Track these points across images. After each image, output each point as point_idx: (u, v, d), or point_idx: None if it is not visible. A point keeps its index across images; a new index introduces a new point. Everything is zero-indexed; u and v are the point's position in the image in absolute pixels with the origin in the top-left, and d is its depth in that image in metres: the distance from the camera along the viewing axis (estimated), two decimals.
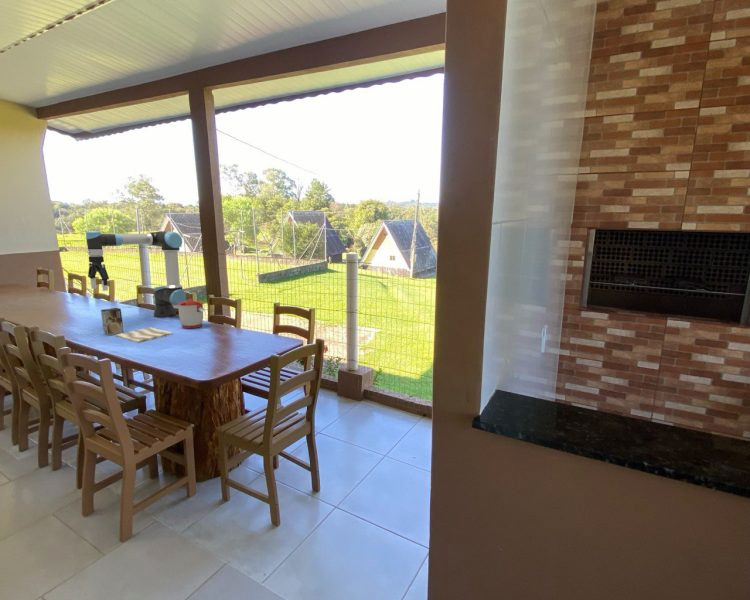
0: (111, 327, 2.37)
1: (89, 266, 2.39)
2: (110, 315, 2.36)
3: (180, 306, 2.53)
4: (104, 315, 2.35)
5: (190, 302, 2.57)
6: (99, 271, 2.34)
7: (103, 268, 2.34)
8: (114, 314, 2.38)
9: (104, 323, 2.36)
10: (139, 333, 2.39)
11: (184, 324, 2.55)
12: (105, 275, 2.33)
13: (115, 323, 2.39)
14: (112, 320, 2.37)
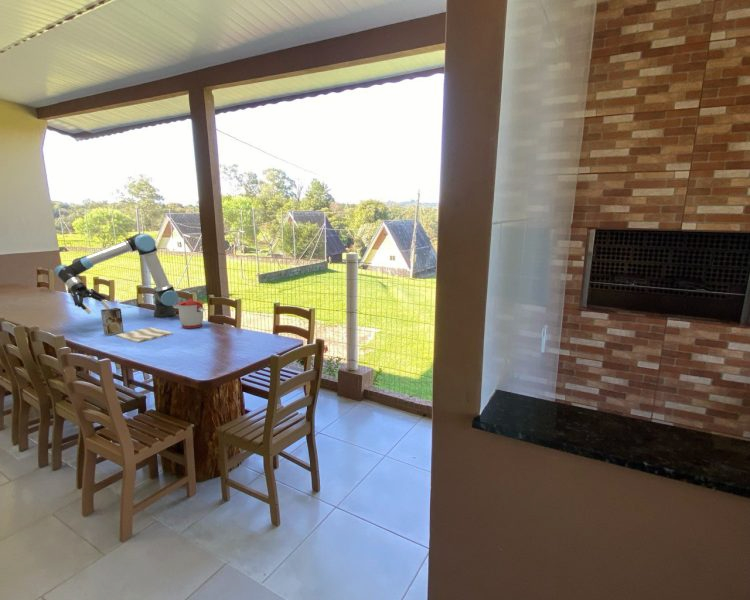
0: (111, 327, 2.37)
1: None
2: (110, 315, 2.36)
3: (180, 306, 2.53)
4: (104, 315, 2.35)
5: (190, 302, 2.57)
6: (79, 298, 2.35)
7: (74, 296, 2.32)
8: (114, 314, 2.38)
9: (104, 323, 2.36)
10: (139, 333, 2.39)
11: (184, 324, 2.55)
12: (75, 302, 2.30)
13: (115, 323, 2.39)
14: (112, 320, 2.37)
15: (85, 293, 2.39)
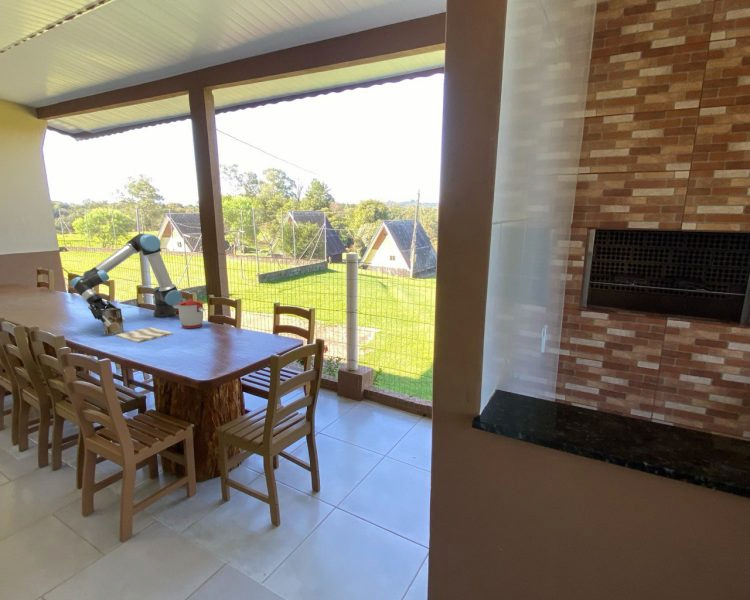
0: (111, 327, 2.37)
1: None
2: (110, 315, 2.36)
3: (180, 306, 2.53)
4: (104, 315, 2.35)
5: (190, 302, 2.57)
6: (96, 311, 2.36)
7: (91, 308, 2.33)
8: (114, 314, 2.38)
9: (104, 323, 2.36)
10: (139, 333, 2.39)
11: (184, 324, 2.55)
12: (94, 315, 2.32)
13: (115, 323, 2.39)
14: (112, 320, 2.37)
15: (101, 305, 2.39)
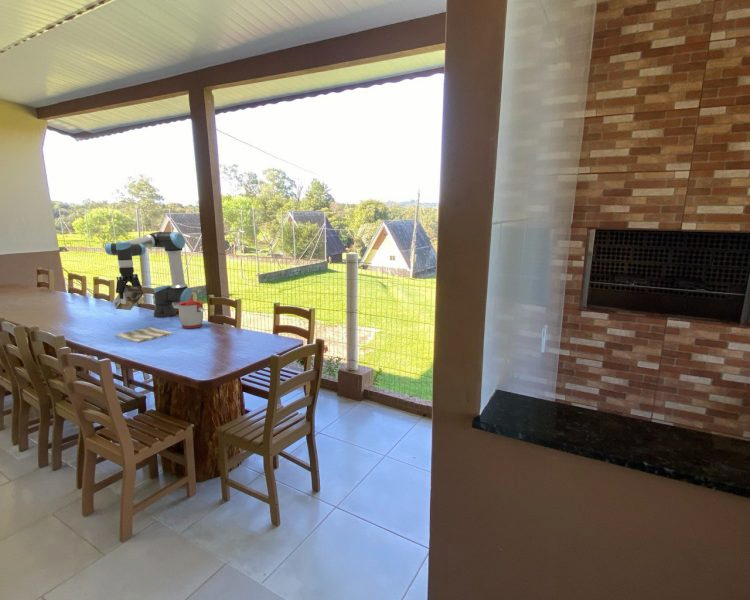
0: (123, 304, 2.34)
1: None
2: (130, 295, 2.32)
3: (180, 306, 2.53)
4: (125, 292, 2.30)
5: (190, 302, 2.57)
6: None
7: (118, 281, 2.27)
8: (134, 296, 2.34)
9: None
10: (139, 333, 2.39)
11: (184, 324, 2.55)
12: (117, 288, 2.26)
13: (129, 302, 2.35)
14: (128, 299, 2.33)
15: (129, 279, 2.33)
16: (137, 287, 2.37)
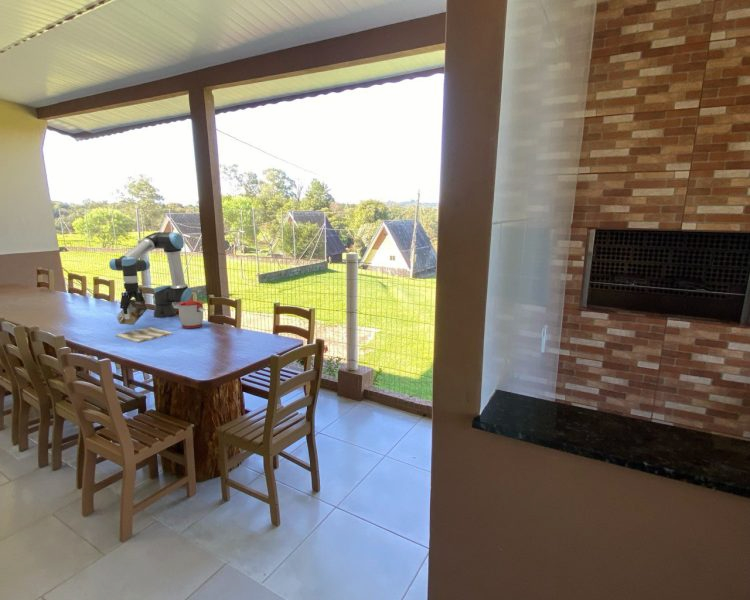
0: (127, 319, 2.36)
1: (138, 292, 2.42)
2: (134, 311, 2.34)
3: (180, 306, 2.53)
4: (129, 308, 2.32)
5: (190, 302, 2.57)
6: None
7: (123, 296, 2.29)
8: (138, 311, 2.36)
9: None
10: (139, 333, 2.39)
11: (184, 324, 2.55)
12: (121, 304, 2.28)
13: (133, 317, 2.37)
14: (132, 314, 2.35)
15: (133, 294, 2.35)
16: (141, 302, 2.38)
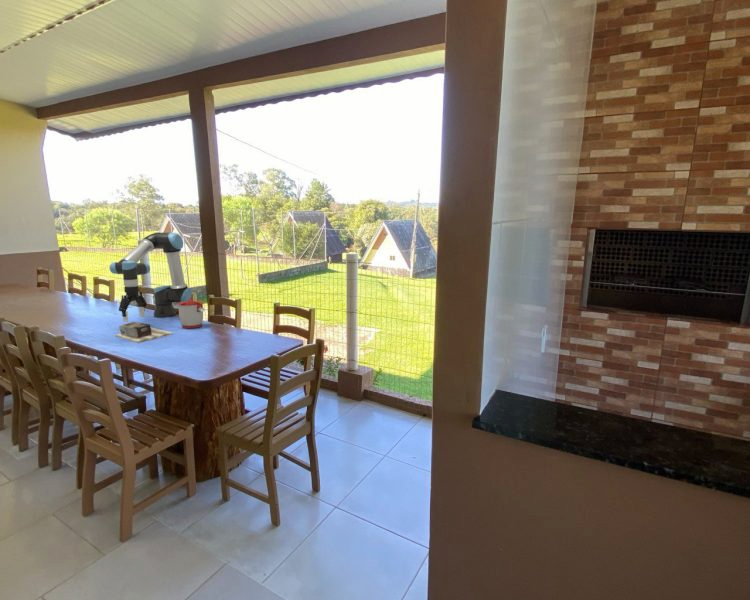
0: None
1: None
2: None
3: (180, 306, 2.53)
4: (134, 334, 2.30)
5: (190, 302, 2.57)
6: None
7: (123, 299, 2.29)
8: None
9: (128, 332, 2.32)
10: None
11: (184, 324, 2.55)
12: (120, 307, 2.27)
13: None
14: None
15: (133, 298, 2.35)
16: (147, 327, 2.34)
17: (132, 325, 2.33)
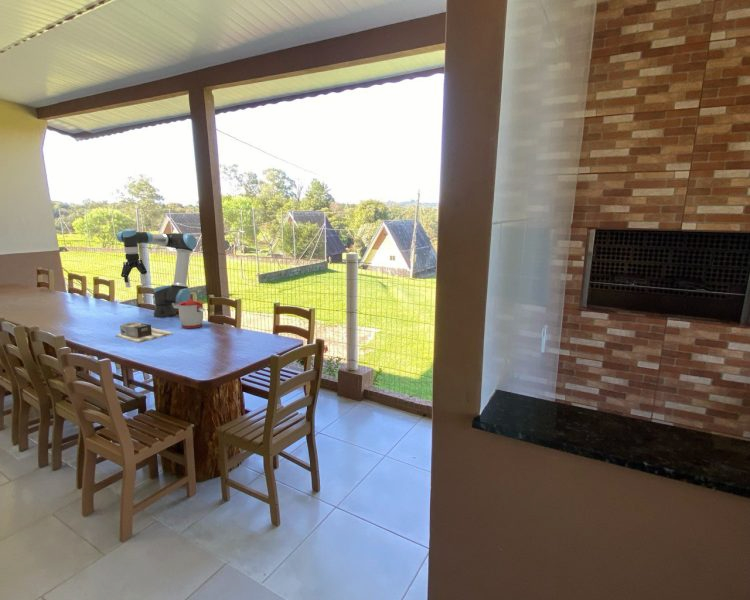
0: None
1: (139, 262, 2.53)
2: None
3: (180, 306, 2.53)
4: (135, 334, 2.30)
5: (190, 302, 2.57)
6: None
7: (125, 265, 2.40)
8: None
9: (128, 332, 2.32)
10: None
11: (184, 324, 2.55)
12: (122, 272, 2.39)
13: None
14: None
15: (134, 264, 2.46)
16: (147, 327, 2.35)
17: (133, 325, 2.34)
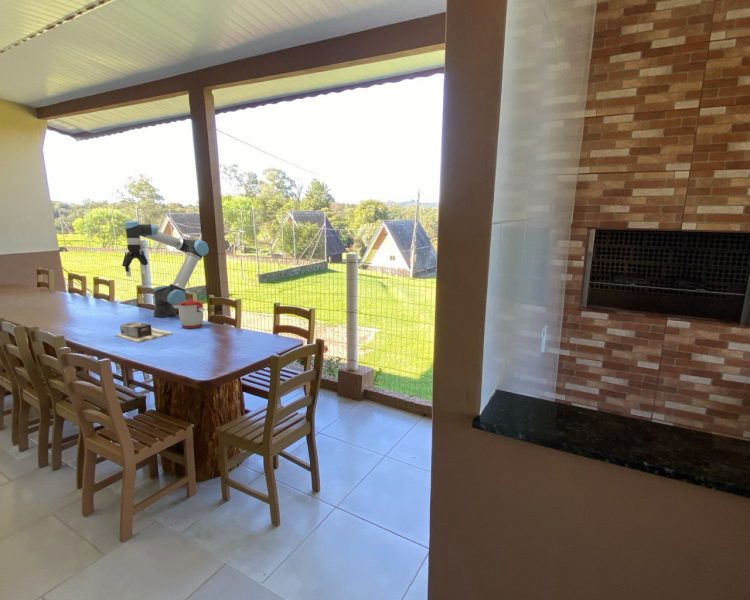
0: None
1: (140, 253, 2.64)
2: None
3: (180, 306, 2.53)
4: (135, 334, 2.30)
5: (190, 302, 2.57)
6: None
7: (126, 255, 2.50)
8: None
9: (128, 332, 2.32)
10: None
11: (184, 324, 2.55)
12: (124, 262, 2.49)
13: None
14: None
15: (136, 255, 2.57)
16: (147, 327, 2.35)
17: (133, 325, 2.34)
